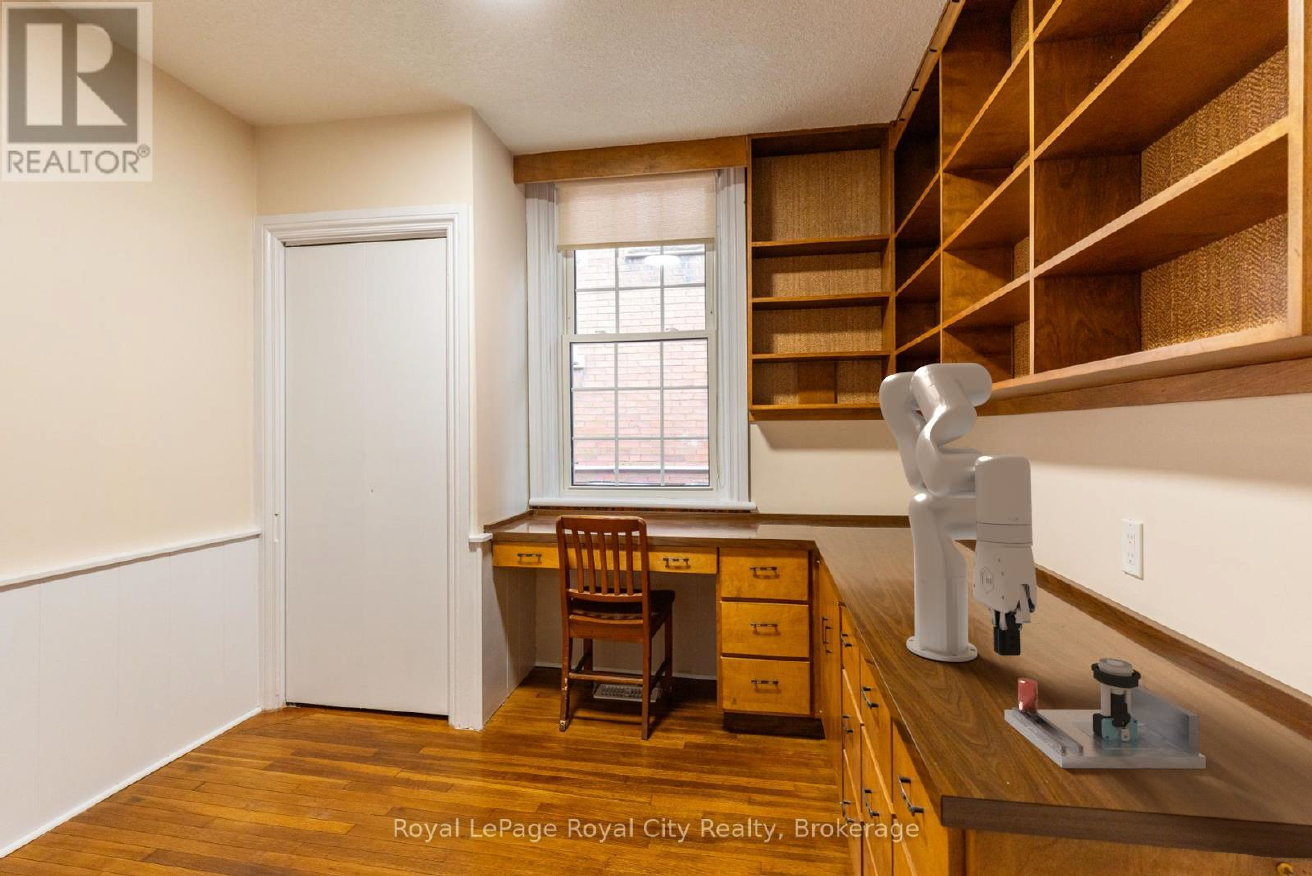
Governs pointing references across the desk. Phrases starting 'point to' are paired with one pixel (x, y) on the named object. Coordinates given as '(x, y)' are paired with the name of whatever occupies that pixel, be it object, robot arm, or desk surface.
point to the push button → (1116, 700)
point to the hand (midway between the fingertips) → (1007, 653)
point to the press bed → (1079, 747)
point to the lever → (1028, 697)
